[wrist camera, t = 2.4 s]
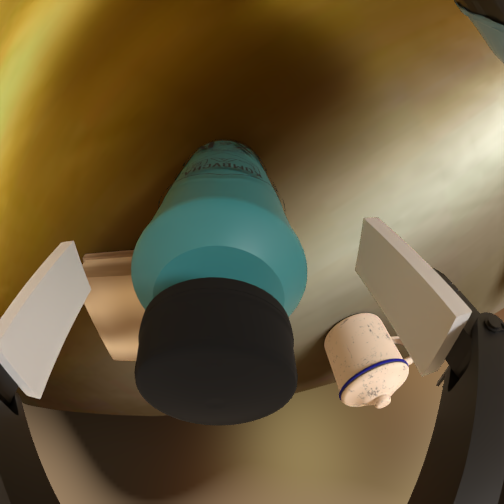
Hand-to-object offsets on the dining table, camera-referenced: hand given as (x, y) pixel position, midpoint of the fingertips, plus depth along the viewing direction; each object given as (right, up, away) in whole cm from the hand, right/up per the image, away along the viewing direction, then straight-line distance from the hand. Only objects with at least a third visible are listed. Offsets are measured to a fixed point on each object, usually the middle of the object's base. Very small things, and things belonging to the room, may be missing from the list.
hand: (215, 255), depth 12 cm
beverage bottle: (-1, +7, +11) cm, 13 cm away
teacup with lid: (+17, -11, +23) cm, 31 cm away
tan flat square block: (-9, -5, +17) cm, 20 cm away
